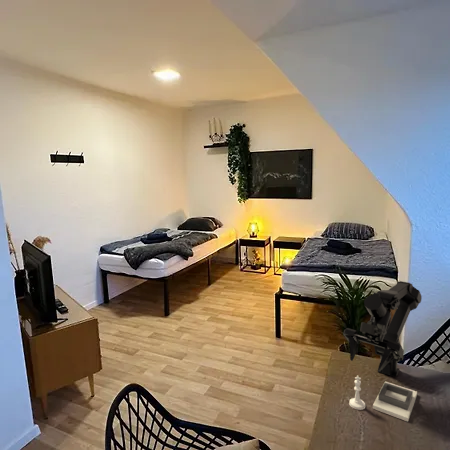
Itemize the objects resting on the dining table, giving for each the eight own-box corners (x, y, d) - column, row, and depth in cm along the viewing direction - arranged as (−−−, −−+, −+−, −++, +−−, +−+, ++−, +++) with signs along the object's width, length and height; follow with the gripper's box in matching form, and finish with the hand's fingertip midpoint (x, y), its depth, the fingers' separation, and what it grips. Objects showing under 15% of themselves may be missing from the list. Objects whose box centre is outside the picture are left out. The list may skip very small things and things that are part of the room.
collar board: (384, 384, 117) (385, 376, 116) (416, 394, 111) (417, 386, 110) (372, 408, 104) (372, 399, 104) (407, 421, 98) (408, 412, 98)
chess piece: (367, 410, 104) (367, 381, 102) (350, 408, 105) (351, 379, 103) (363, 400, 108) (364, 372, 107) (348, 399, 109) (348, 371, 108)
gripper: (345, 306, 117) (330, 346, 111) (402, 320, 104) (388, 366, 97) (355, 320, 124) (340, 359, 117) (409, 335, 110) (396, 380, 104)
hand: (364, 365), depth 109 cm, fingers open, 9 cm apart
